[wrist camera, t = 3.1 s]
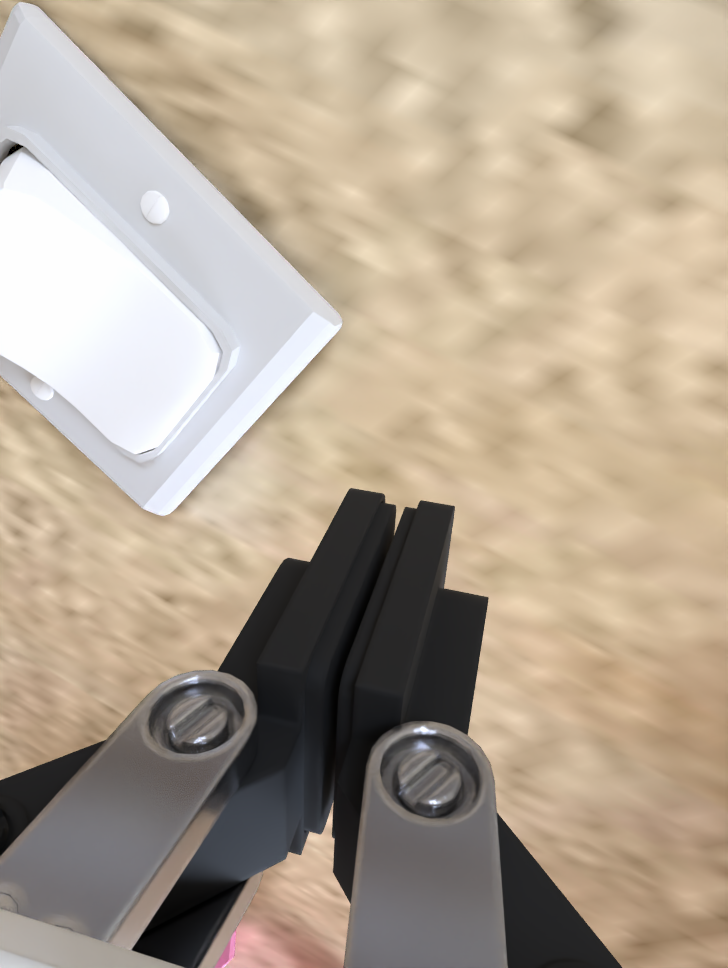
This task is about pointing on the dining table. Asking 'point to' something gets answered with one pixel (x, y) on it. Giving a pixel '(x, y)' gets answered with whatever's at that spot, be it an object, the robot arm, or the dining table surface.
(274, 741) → the robot arm
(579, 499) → the dining table surface
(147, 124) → the light switch
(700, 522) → the dining table surface
